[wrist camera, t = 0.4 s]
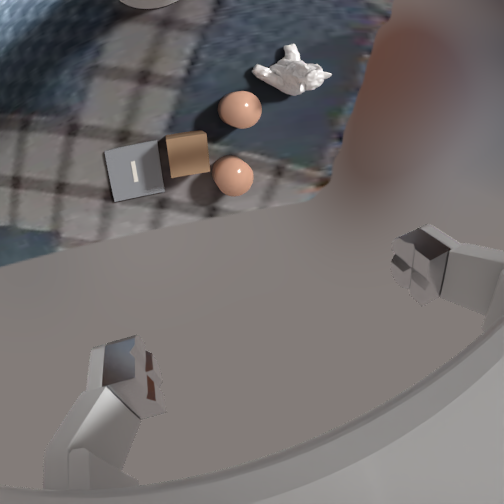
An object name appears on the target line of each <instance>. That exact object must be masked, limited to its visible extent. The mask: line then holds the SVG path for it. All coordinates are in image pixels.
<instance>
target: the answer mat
mask: <svg viewBox="0 0 504 504" xmlns="http://www.w3.org/2000/svg"><path fill="white" fill-rule="evenodd" d="M105 157H106V163H107V168H108V173H109V178H110V183H111V188H112V192H113V197H114V201H115V202H117V201H121V200H126V199H131V198H135V197H140V196H145V195H150V194H155V193H160V192H165V189H164V183H163V177H162V171H161V164H160V157H159V150H158V143H157V140H154V141H149V142H144V143H139V144H134V145H129V146H125V147H120V148H116V149H111V150H107V151H105Z"/></svg>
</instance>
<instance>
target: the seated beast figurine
mask: <svg viewBox="0 0 504 504" xmlns="http://www.w3.org/2000/svg"><path fill="white" fill-rule="evenodd" d="M284 51H285V56H284V57H283V58H282V59H281V60H279V61H278V62H277V64H275V65H272V66H270V67H269V68H267V67H264V66H261V65H255V66H254V67H253V70H252V73H253V74H254V75H255V76H257V78H259V79H260V80H262V81H265V83H268V84H270V85H271V86H273V87H275V88H277V89H279V90H280V91H281V92H284V93H286V94H290V95H293V96H296V95H299V94H301V93H303V92H305V90H314V89H315V88H316V87H319V86H320V85H321V84H322V83H323V81H324V79H327V78H329V77H330V76H331V75H332V74H331V73H328V72H323V69H322V68H321V66H319V65H318V64H306V63H304V62H303V61H302V60H300V53H299V52H298V50H297V48H296V45H295V44H292V45H287V46H284Z"/></svg>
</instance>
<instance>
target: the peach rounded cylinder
mask: <svg viewBox="0 0 504 504" xmlns="http://www.w3.org/2000/svg"><path fill="white" fill-rule="evenodd" d="M212 177H213V179H214V181H215V183H216V184H217V186H218V187H219V189H220V190H221V191H222V192H223V193H224V194H226V195H229V196H239V195H242V194H244V193H245V192H247V191H248V190H249V188H250V187H251V185H252V183H253V172H252V169H251V168H250V166H249V165H248V164H246V163H245V162H244V161H242V160H241V159H240V158H238V157H236V156H234V155H225V156H223V157H221V158H219V159H218V160H217V161H216V162H215V163H214V165H213V168H212Z"/></svg>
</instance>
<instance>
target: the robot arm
mask: <svg viewBox="0 0 504 504" xmlns="http://www.w3.org/2000/svg"><path fill="white" fill-rule="evenodd" d="M120 1H121V2H123V3H124V4H126V5H128V6H131V7H134V8H140V9H153V8H159V7H163V6H167V5H169V4H172V3H174V2H176V1H178V0H120ZM392 251H393V253H394V254H395V255H394V257H393V259H392V261H391V272H392V275H393V278H394V280H395V281H396V283H397V284H398V285H399V286H400V287H402V288H406V289H409V295H410V296H411V297H413V299H414V300H415V301H416V302H418V303H419V304H420V305H421V306H424V305H426V304H427V303H429V302H431V301H433V300H435V299H436V298H438V297H440V298H442V299H445V300H447V301H450V302H452V303H455V304H457V305H460V306H462V307H465V308H467V309H470V310H472V311H475V312H477V313H480V314H482V315H485V318H484V321H483V323H482V330H483V331H484V333H483V334H482V335H480V336H479V337H478V338H477V339H476V340H475V341H473V342H472V343H471V344H470V345H468V346H467V347H466V348H465V349H463V350H462V351H461V352H459V353H458V354H457V355H455V356H454V357H453V358H451V359H450V360H449V361H448V362H446V363H445V364H443V365H442V366H441V367H439V368H438V369H436V370H435V371H433V372H432V373H431V374H429V375H428V376H426V377H425V378H423V379H422V380H420V381H419V382H417V383H416V384H414V385H413V386H411V387H409V388H408V389H406V390H404V391H403V392H401V393H400V394H398V395H396V396H395V397H393V398H391V399H390V400H388V401H386V402H384V403H383V404H381V405H379V406H377V407H375V408H374V409H372V410H370V411H368V412H366V413H364V414H362V415H360V416H359V417H357V418H355V419H353V420H351V421H349V422H347V423H345V424H343V425H341V426H339V427H336V428H334V429H332V430H330V431H328V432H326V433H323V434H321V435H319V436H317V437H314V438H312V439H310V440H307V441H305V442H302V443H300V444H297V445H295V446H292V447H290V448H287V449H285V450H282V451H279V452H276V453H273V454H271V455H267V456H265V457H262V458H259V459H256V460H252V461H249V462H246V463H243V464H239V465H236V466H233V467H229V468H226V469H222V470H218V471H214V472H210V473H206V474H202V475H197V476H193V477H188V478H183V479H178V480H172V481H167V482H161V483H154V484H147V485H140V486H139V481H138V480H137V479H136V478H134V477H132V476H130V475H128V474H127V473H125V472H123V471H122V469H123V466H124V464H125V461H126V458H127V456H128V453H129V451H130V448H131V446H132V443H133V441H134V438H135V436H136V433H137V431H138V428H139V426H140V423H141V419H145V418H149V417H153V416H156V415H160V414H163V413H166V407H165V399H164V394H163V392H162V391H161V390H160V389H159V388H160V386H161V384H162V374H161V371H160V367H159V365H158V363H157V361H156V359H155V357H154V356H153V354H152V353H150V352H148V351H146V350H145V343H144V341H143V340H142V339H141V337H140V336H139V335H134V336H131V337H127V338H124V339H120V340H117V341H113V342H110V343H107V344H104V345H100V346H97V347H93V349H92V350H91V353H90V361H89V369H88V378H87V387H86V391H85V392H82V393H81V394H80V396H79V397H78V399H77V400H76V402H75V403H74V405H73V406H72V408H71V409H70V411H69V412H68V414H67V416H66V417H65V419H64V420H63V422H62V423H61V425H60V426H59V428H58V429H57V431H56V433H55V434H54V436H53V437H52V439H51V441H50V442H49V444H48V445H47V447H46V449H45V453H44V470H43V489H34V488H23V487H13V486H6V485H0V504H504V251H501V250H496V249H492V248H487V247H482V246H478V245H473V244H468V243H463V244H461V243H459V242H458V241H456V240H455V239H453V238H451V237H450V236H448V235H447V234H445V233H444V232H442V231H441V230H439V229H438V228H436V227H434V226H433V225H431V224H425V225H423V226H421V227H419V228H417V229H416V230H413V231H411V232H409V233H407V234H404V235H402V236H400V237H397V238H395V239H394V240H393V242H392Z"/></svg>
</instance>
